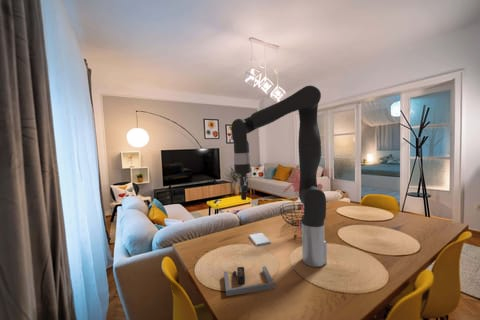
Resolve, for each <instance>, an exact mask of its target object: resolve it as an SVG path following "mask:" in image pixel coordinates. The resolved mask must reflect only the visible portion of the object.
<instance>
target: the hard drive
mask: <svg viewBox="0 0 480 320" xmlns="http://www.w3.org/2000/svg"><path fill="white" fill-rule="evenodd" d="M248 238H249V239H250V240H251V241H252V242H253V244H254V245H255V246H256V247H260V246H265V245H270V244H272V241H270V240H269V238H268V237H267V236H266V235H265V234H264V233H262V232H258V233H253V234H252V233H251V234H248Z"/></svg>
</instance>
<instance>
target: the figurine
mask: <svg viewBox="0 0 480 320" xmlns="http://www.w3.org/2000/svg"><path fill="white" fill-rule="evenodd" d="M292 182H293V183H291V184H289V185H288V186H287V187H286V188H285V189H284V191H283V192H282V194H284V193H286V192H287V191H288V190H290V188H291V187H293V192H294V193H296V196H297V197H298V198H299V186H300V173H296V176H295V177H294V178H293V179H292ZM317 188H318V189H320V190H322V189H323V184H321V183H317ZM300 209H301V210H300V212H299V215H298V224H299V225H298V226H296V228H298V229H297V230H296V232H294V234H295V235H296V234H297V233H298V232H299V231H300V232H301V234H302V225H301V220H300V219H301V213H302V212H304V204H303V203H302V206H301V207H300ZM293 228H294V227H293V226H291V229H293Z"/></svg>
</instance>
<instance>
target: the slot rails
mask: <svg viewBox="0 0 480 320" xmlns="http://www.w3.org/2000/svg"><path fill="white" fill-rule="evenodd" d="M262 273H263V275H265V276H264V278H265V280H266V282H265V283H259V284H251V285H246V286H245V285H244V286H238V287H232V288H230V282H229V280H230V279H229V275H228V271H223V278H224V286H225V287H224V288H225V295H226V297H231V296H237V295H238V296H239V295H242V294H243V295H245V294H250V293H256V292H263V291H267V290H269V291H270V290H275V282H274V281H273V278H272V276H271V274H270V272H269V269H268V268H267V266H266V265H263V266H262Z"/></svg>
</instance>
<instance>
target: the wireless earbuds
mask: <svg viewBox="0 0 480 320" xmlns="http://www.w3.org/2000/svg"><path fill="white" fill-rule="evenodd" d="M232 274H233V276H237V284H238V285H245V283H246V276H245V274H246V273H245V267H244V266H238V267H237V269H236V270H234V271H233V272H232Z"/></svg>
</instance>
